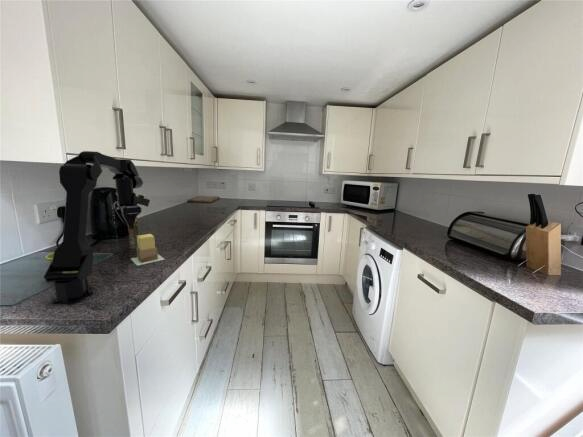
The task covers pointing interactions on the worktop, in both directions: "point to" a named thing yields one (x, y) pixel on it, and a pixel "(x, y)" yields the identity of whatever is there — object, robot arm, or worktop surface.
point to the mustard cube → (145, 241)
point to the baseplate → (147, 261)
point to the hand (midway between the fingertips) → (128, 226)
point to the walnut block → (147, 254)
